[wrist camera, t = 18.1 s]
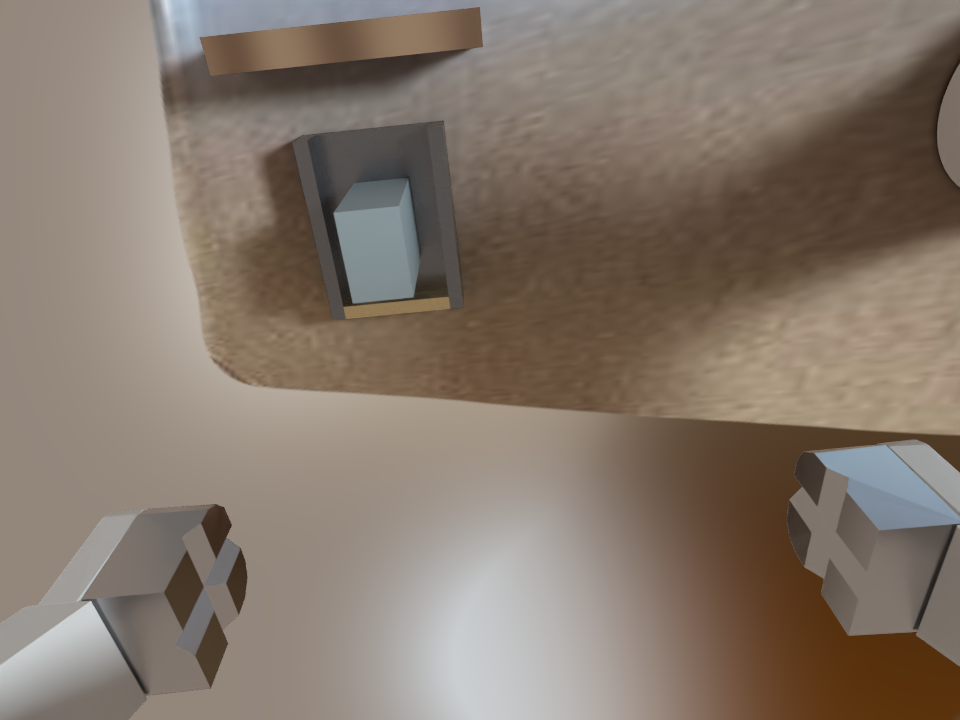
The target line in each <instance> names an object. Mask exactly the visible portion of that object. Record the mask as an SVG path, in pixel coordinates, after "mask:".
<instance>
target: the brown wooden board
mask: <svg viewBox="0 0 960 720" xmlns="http://www.w3.org/2000/svg"><path fill="white" fill-rule="evenodd" d="M200 40H201V44H202V47H203V51H204V54H205V58H206V62H207V65H208V69H209V72H210V76H214V75H224V74H233V73H243V72H252V71H262V70H271V69H280V68H290V67H299V66H309V65H318V64H327V63H337V62H346V61H356V60H365V59H374V58H384V57H393V56H403V55H412V54H422V53H431V52H440V51H450V50H459V49H469V48H478V47H483V42H482V30H481V18H480V7H478V8H468V9H459V10H450V11H441V12H431V13H422V14H413V15H403V16H394V17H385V18H376V19H366V20H357V21H348V22H338V23H329V24H320V25H311V26H301V27H292V28H283V29H274V30H264V31H255V32H246V33H236V34H227V35H218V36H209V37H200Z"/></svg>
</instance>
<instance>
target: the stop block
mask: <svg viewBox="0 0 960 720" xmlns="http://www.w3.org/2000/svg"><path fill="white" fill-rule="evenodd" d="M334 218H335V222H336V227H337V232H338V236H339V241H340V246H341V250H342V255H343V260H344V264H345V269H346V274H347V278H348V283H349V288H350V292H351V297H352V302H353V303H363V302H373V301H382V300H392V299H402V298H412V297H414V292H415V287H416V281H417V275H418V270H419V264H420V259H421V255H420V248H419V241H418V235H417V228H416V222H415V215H414V208H413V202H412V195H411V188H410V182H409V178H400V179H391V180H381V181H372V182H362V183H354V184H353V185H352V187H351V188H350V190H349V191H348V193H347V194H346V196H345V197H344V198H343V200H342V201H341V203H340V204H339V206H338V207H337V209H336V210H335V211H334Z"/></svg>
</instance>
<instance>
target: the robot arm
mask: <svg viewBox="0 0 960 720" xmlns="http://www.w3.org/2000/svg"><path fill="white" fill-rule="evenodd" d="M937 143H938V150H939V155H940V159H941V161H942V164H943V166H944V169H945V171H946V172H947V174H948V175H949V177H950V178H951V179H952V181H953V182H954V183H955V184H956V185H958V186H959V187H960V64H959V65H958V67H957V69H956V71H955V73H954V74H953V76H952V78H951V81H950V83H949V85H948V87H947V90H946V92H945V95H944V98H943V101H942V105H941V108H940V113H939V118H938V127H937ZM794 475H795V477H796V478H797V480H798V481H799V482H800V484H801V485H802V486H803V487H802V488H801V489H800V490H799V491H798V492H797V493H796V494H795V495H794V496H793V497H792V498H791V499H790V500H789V506H788V513H787V524H788V530H789V537H790V540H791V542H792V545H793V547H794V550H795V552H796V554H797V556H798V557H799V559H800V561H801V562H802V564H803V565H804V567H805V568H807V569H809V570H810V571H812V572H814V573H816V574H817V575H819V576H820V577H822V578H824V582H823V587H822V592H821V594H822V595H823V597H824V598H825V600H826V601H827V603H828V604H829V606H830V608H831V609H832V611H833V612H834V614H835V615H836V617H837V619H838V620H839V622H840V623H841V625H842V626H843V628H844V629H845V631H846V632H847V634H848V635H865V634H866V635H867V634H885V633H903V632H917V634H916V635H917V636H918V637H920V638H921V639H923V640H924V641H925V642H927V643H928V644H929V645H931V646H932V647H933V648H935V649H936V650H938V651H939V652H940V653H942V654H943V655H944V656H946V657H947V658H949V659H950V660H952V661H953V662H954V663H956V664H957V665H958V666H960V473H959V472H958V471H957V470H956V469H955V468H954V467H952V466H951V465H950V464H949V463H948V462H947V461H946V460H944V459H943V458H942V457H941V456H940V455H939V454H938V453H937V452H936V451H934V450H933V449H932V448H931V447H930V446H928V445H927V444H925V443H923V442H920V441H918V440H908V441H898V442H889V443H880V444H877V445H869V446H858V447H848V448H837V449H827V450H817V451H806V452H803V453H802V454H801V456H800V457H799V459H798V460H797V464H796V469H795V474H794ZM231 526H232V524H231V522H230V520H229V518H228V515H227V513H226V510H225V508H224V507H222V506H219V505H217V504H211V505H197V506H182V507H167V508H152V509H147V510H132V511H116V512H112V513H110V514H108V515H106V516H104V517H103V518H102V519H101V521H100V522H99V523H98V525H97V526H96V527H95V529H94V530H93V531H92V533H91V534H90V535H89V537H88V538H87V540H86V541H85V542H84V544H83V545H82V546H81V548H80V549H79V551H78V552H77V553H76V554H75V556H74V557H73V558H72V560H71V561H70V563H69V564H68V565H67V566H66V568H65V569H64V571H63V572H62V573H61V575H60V576H59V577H58V579H57V580H56V581H55V583H54V584H53V585H52V587H51V588H50V589H49V591H48V592H47V594H46V595H45V596H44V597H43V599H42V600H41V601H40V603H39V604H38V605H36V606H26V607H24V608H23V609H21V610H20V611H18V612H17V613H15V614H14V615H12V616H11V617H9V618H8V619H6V620H5V621H3V622H2V623H0V720H128V719H129V718H130V717H131V716H132V715H133V714H134V713H135V712H136V711H137V710H138V709H139V707H140V706H141V705H142V704H143V703H144V702H145V701H146V700H147V698H146V696H149V695H158V694H167V693H176V692H185V691H193V690H202V689H211V687H212V684H213V682H214V679H215V676H216V674H217V671H218V668H219V666H220V663H221V661H222V658H223V655H224V653H225V650H226V648H227V645H228V642H227V640H226V637H225V635H224V632H223V629H224V628H225V627H226V626H228V625H229V624H230V623H231V622H232V621H233V620H234V619H235V618H236V617H237V616H238V615H239V614H240V611H241V608H242V605H243V602H244V600H245V594H246V586H247V570H246V562H245V559H244V556H243V554H242V550H241V548H240V547H238V546H237V545H236V544H234V543H233V542H231V541H230V540H229V539H227V538H226V537H227V535H228V533H229V530H230V528H231Z"/></svg>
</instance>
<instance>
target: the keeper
mask: <svg viewBox="0 0 960 720" xmlns="http://www.w3.org/2000/svg"><path fill="white" fill-rule="evenodd" d="M292 144H293V148H294V153H295V157H296V161H297V166H298V170H299V174H300V179H301V183H302V187H303V192H304V196H305V200H306V205H307V209H308V214H309V218H310V222H311V227H312V231H313V235H314V240H315V244H316V248H317V253H318V257H319V261H320V266H321V270H322V274H323V279H324V283H325V287H326V292H327V296H328V301H329V305H330V309H331V314H332V318H333V320H341V319H351V318H361V317H372V316H382V315H392V314H403V313H413V312H423V311H434V310H444V309H454V308H463V285H462V276H461V268H460V259H459V250H458V242H457V233H456V224H455V215H454V207H453V198H452V189H451V181H450V172H449V163H448V155H447V146H446V137H445V128H444V121H437V122H427V123H418V124H408V125H398V126H389V127H379V128H369V129H360V130H350V131H340V132H331V133H321V134H311V135H302V136H301V137H299V138H298V139H297V140H295V141H294V142H292ZM400 178H409V182H410V188H411V195H412V202H413V208H414V215H415V222H416V228H417V235H418V241H419V248H420V255H421V259H420V264H419V270H418V275H417V281H416V287H415V292H414V297H412V298H402V299H392V300H382V301H373V302H363V303H353V302H352V297H351V292H350V288H349V283H348V278H347V274H346V269H345V264H344V260H343V255H342V250H341V246H340V241H339V236H338V232H337V227H336V222H335V218H334V211H335V210H336V209H337V207H338V206H339V204H340V203H341V201H342V200H343V198H344V197H345V196H346V194H347V193H348V191H349V190H350V188H351V187H352V185H353V184H354V183H362V182H372V181H381V180H391V179H400Z"/></svg>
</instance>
